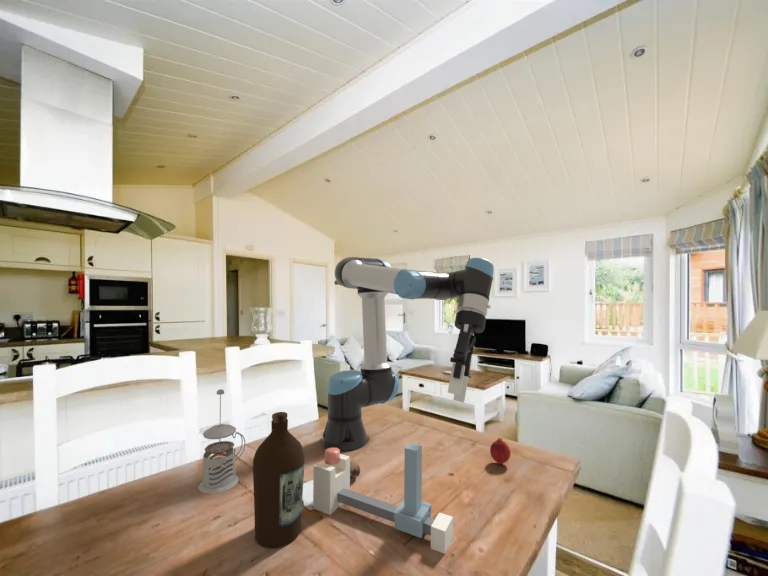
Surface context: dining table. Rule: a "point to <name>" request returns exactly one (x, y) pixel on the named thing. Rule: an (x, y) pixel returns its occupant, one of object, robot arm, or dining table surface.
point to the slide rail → (368, 502)
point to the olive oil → (278, 485)
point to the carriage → (412, 495)
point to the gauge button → (332, 456)
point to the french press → (219, 476)
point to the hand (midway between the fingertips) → (456, 397)
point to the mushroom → (354, 468)
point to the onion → (500, 451)
